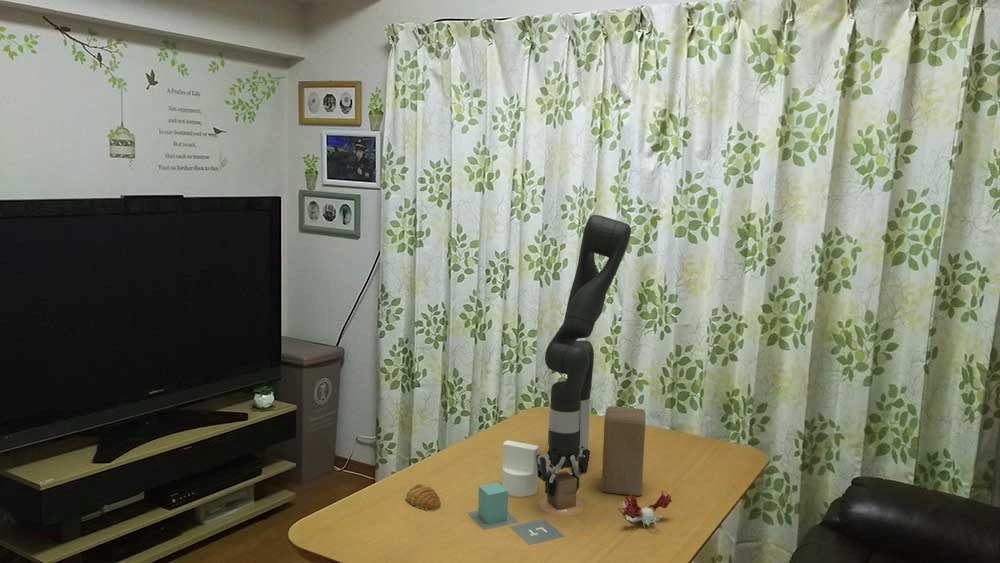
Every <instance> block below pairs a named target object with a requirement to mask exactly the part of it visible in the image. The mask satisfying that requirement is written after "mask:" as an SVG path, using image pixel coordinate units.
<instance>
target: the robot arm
mask: <svg viewBox="0 0 1000 563" xmlns="http://www.w3.org/2000/svg"><path fill="white" fill-rule="evenodd" d="M631 233H632V229H631V225H630V224H628V223H626V222H624V221H621V220H617V219H614V218H611V217H608V216H607V217H606V216H603V215H600V214H599V215H598V214H593V215H590V216H589V218H588V219H587V221H586V224H585V226H584V229H583V234H582V237H581V238H582V239H581V244H580V250H579V256H578V261H577V268H576V271H575V276H574V278H573V281H572V285H571V288H570V293H569V295H568V301H567V305H566V310H565V313H564V314H565V315H564V319H563V322H562V325H561V326H560V327H559V329H558V330H557V331H556V333H555V335H554V336H553V338H552V339H551V340H550V342H549V343H548V345H547V347H546V350H545V355H544V363H545V365H546V368H548V369H549V371H553V372H557V373H560V374H564V375H567V376H566V380H564V381H557V382H555V383H553V384H552V385H551V388H550V406H549V408H550V410H549V414H548V430H547V432H548V435H547V443H548V449H547V451H546V453H545V454H540V453H539V454H538V455H537V456H536V462H537V473H538V479H540V480H541V481H543V482H544V492H545V494H546V496H547V495H548V496H549V497H554V482H553V481H554V479H555V477H556V475H557V474H558V473H559V472H561V470H564V469H565V468H566V469H569V470H570V474H571V475H572V476H574V477H575V478H577V490H576V493H578V490H579V488H580V478H581V476H582V475H583V474H584V475H585V474H587V473H588V467H589V462H590V456H591V450H589V437H590V436H589V434H590V432H589V431H590V416H591V415H590V414H591V413H590V412H591V411H590V410H591V409H590V408H591V407H590V405H591V391H592V384H593V375H594V374H593V373H594V362H595V353H594V347H593V344H592V343H591V341H590V340H584V339H587V338H589V337H590V336H591V335H592V333H593V330H594V327H595V324H596V322H597V321H598V319H599V318H600V317H601V315H602V311H603V308H604V305H605V302H606V298H607V293H608V290H609V289H610V287H611V285H612V282H613V280H614V279H615V276H616V274H617V272H618V270H619V267H620V265H621V262H622V261H623V258H624V256H625V253H626V251H627V249H628V246H629V242H630V239H631ZM595 254H596V255H600V256H604V257H606V258H608V260H607V262H606V263H605V265H604V266H603V268H602V269H601V270H600V271H599V270H598V268H597V265H596V261H595ZM578 339H579V340H578ZM580 339H581V340H580ZM582 339H583V340H582ZM548 461H549V462H548ZM577 461H578V463H577Z"/></svg>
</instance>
